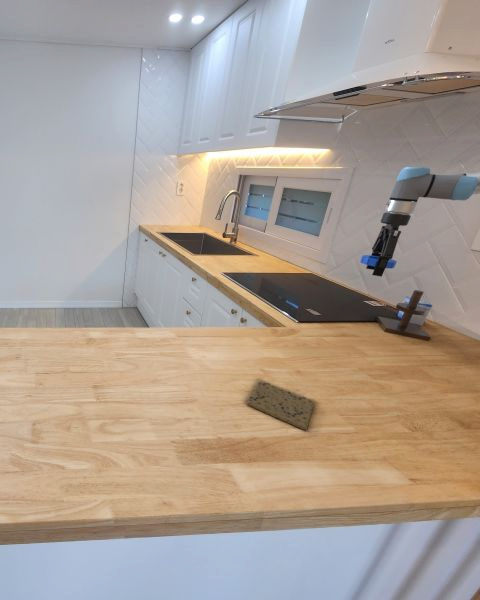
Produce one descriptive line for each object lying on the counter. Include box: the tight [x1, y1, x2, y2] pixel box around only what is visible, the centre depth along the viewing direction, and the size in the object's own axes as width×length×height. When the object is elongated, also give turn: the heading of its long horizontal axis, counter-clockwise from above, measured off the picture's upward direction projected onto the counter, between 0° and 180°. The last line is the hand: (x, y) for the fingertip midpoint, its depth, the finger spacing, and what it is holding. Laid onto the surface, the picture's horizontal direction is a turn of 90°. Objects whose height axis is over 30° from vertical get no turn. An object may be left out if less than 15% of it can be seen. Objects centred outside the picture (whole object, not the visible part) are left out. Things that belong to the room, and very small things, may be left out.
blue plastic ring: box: [359, 254, 398, 269], centre depth 127 cm, size 10×10×2 cm
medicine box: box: [397, 295, 433, 327], centre depth 128 cm, size 8×4×9 cm, turn 164°
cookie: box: [246, 380, 315, 431], centre depth 77 cm, size 12×12×1 cm
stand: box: [375, 289, 431, 342], centre depth 119 cm, size 12×12×15 cm
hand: (373, 272), depth 129 cm, fingers closed on blue plastic ring, 10 cm apart
